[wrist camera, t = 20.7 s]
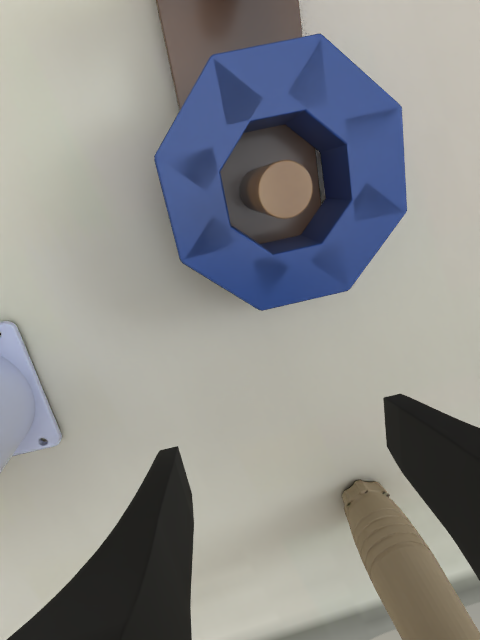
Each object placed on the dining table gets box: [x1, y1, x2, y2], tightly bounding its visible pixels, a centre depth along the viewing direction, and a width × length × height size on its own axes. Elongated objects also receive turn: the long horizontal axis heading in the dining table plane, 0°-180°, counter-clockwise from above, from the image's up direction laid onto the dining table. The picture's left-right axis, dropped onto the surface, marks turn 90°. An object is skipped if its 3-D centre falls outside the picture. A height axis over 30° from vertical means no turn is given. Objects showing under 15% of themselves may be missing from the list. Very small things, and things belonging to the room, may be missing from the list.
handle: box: [342, 480, 480, 640], centre depth 21 cm, size 5×6×15 cm
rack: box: [156, 0, 321, 244], centre depth 15 cm, size 6×15×7 cm, turn 11°
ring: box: [154, 34, 407, 310], centre depth 17 cm, size 10×10×3 cm
